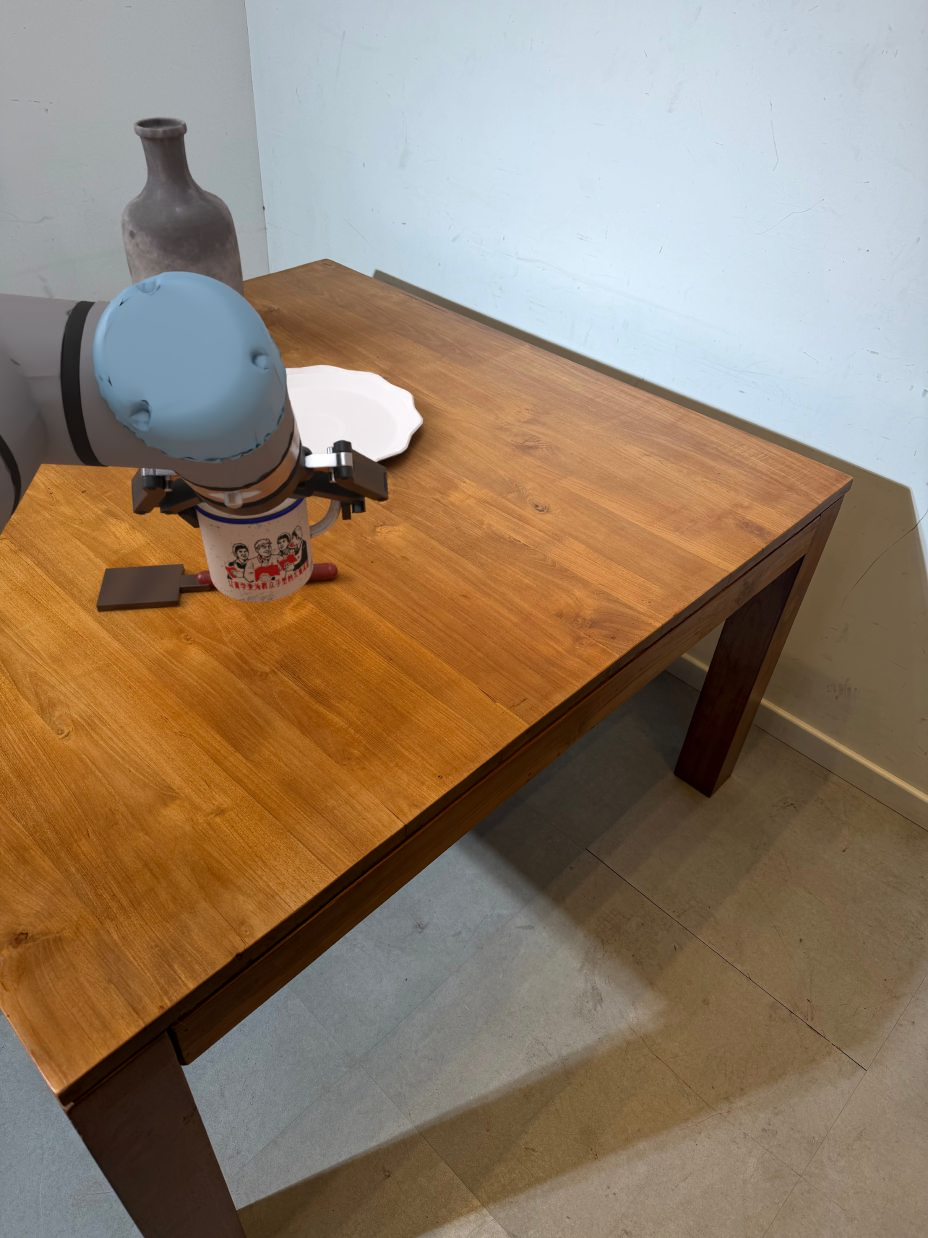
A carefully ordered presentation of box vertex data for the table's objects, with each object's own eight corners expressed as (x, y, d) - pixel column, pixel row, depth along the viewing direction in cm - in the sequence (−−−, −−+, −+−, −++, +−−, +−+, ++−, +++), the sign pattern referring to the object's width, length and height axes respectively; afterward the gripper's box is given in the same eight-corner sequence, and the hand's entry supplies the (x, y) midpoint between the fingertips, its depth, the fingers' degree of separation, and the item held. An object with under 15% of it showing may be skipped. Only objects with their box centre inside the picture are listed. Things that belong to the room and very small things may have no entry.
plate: (465, 437, 113) (465, 421, 111) (285, 522, 97) (283, 505, 95) (330, 361, 128) (329, 346, 126) (156, 425, 112) (152, 408, 110)
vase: (193, 310, 139) (155, 103, 119) (271, 331, 134) (245, 119, 114) (123, 345, 129) (68, 125, 108) (206, 370, 124) (165, 144, 103)
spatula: (97, 611, 85) (93, 598, 83) (107, 574, 89) (103, 560, 88) (339, 595, 88) (338, 582, 87) (337, 559, 92) (336, 546, 91)
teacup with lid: (226, 619, 67) (200, 498, 59) (195, 556, 73) (168, 438, 65) (364, 577, 71) (357, 459, 64) (324, 521, 77) (313, 407, 69)
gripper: (26, 517, 48) (129, 560, 69) (441, 496, 51) (416, 543, 72) (19, 388, 48) (123, 471, 70) (432, 374, 51) (409, 458, 73)
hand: (272, 508), depth 71 cm, fingers closed on teacup with lid, 12 cm apart
